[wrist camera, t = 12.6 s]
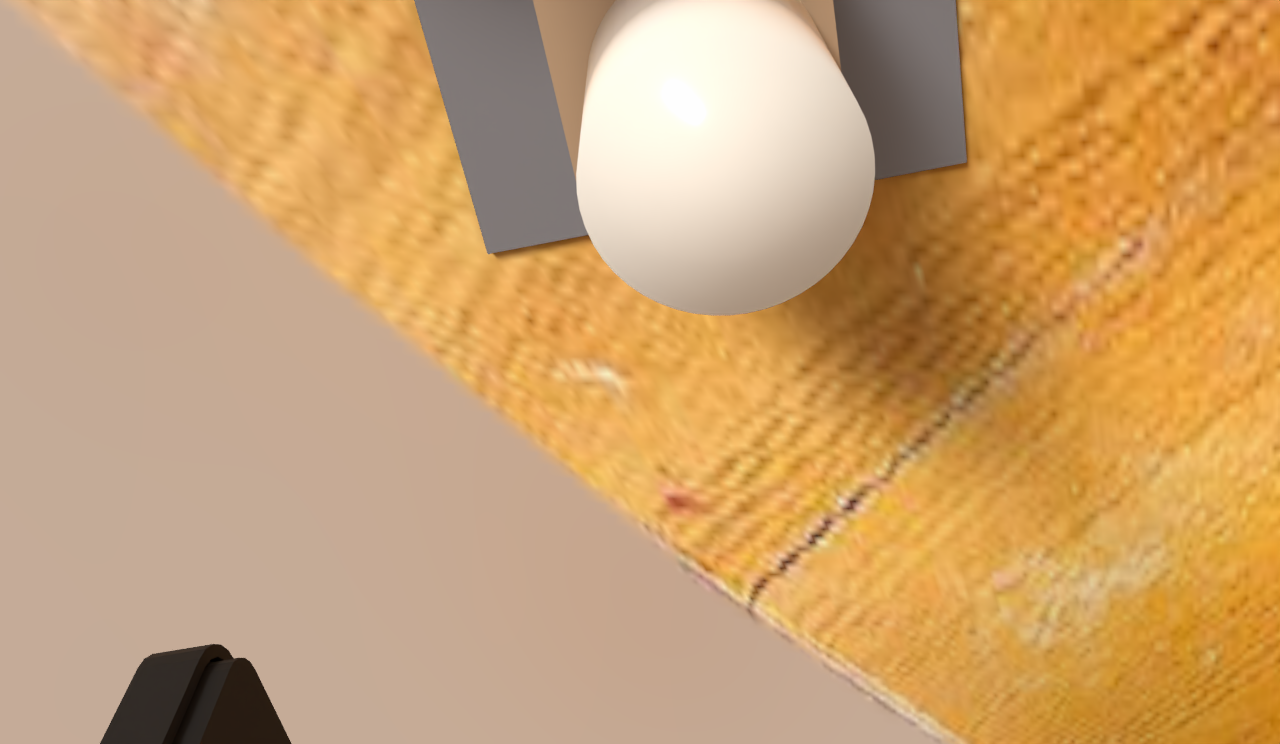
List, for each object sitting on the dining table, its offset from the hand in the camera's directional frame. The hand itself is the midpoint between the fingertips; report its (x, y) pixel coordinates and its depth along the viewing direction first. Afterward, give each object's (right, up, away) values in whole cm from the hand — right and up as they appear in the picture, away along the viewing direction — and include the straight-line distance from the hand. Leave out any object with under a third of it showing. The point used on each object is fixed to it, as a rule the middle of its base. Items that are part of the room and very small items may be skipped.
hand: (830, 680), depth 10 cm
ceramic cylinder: (0, +9, +16) cm, 18 cm away
